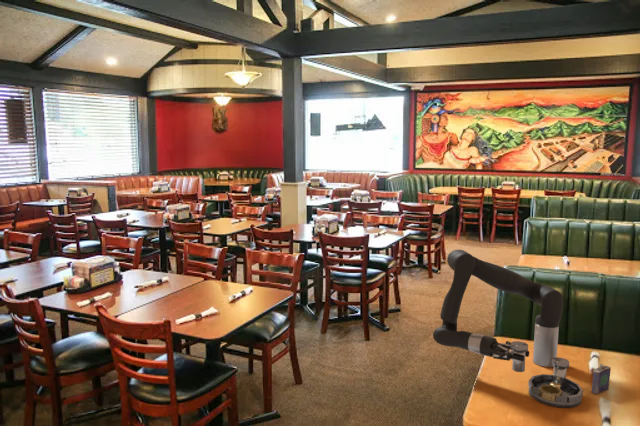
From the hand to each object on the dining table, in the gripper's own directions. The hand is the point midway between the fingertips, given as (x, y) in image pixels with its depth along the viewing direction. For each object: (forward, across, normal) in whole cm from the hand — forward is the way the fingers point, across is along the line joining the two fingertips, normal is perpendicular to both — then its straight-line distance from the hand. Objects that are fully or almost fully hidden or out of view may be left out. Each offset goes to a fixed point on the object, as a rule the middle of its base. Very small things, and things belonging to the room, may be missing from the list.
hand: (526, 356), depth 189 cm
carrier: (+9, +6, +15) cm, 18 cm away
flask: (+21, +21, +16) cm, 33 cm away
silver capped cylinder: (-3, 0, +6) cm, 7 cm away
